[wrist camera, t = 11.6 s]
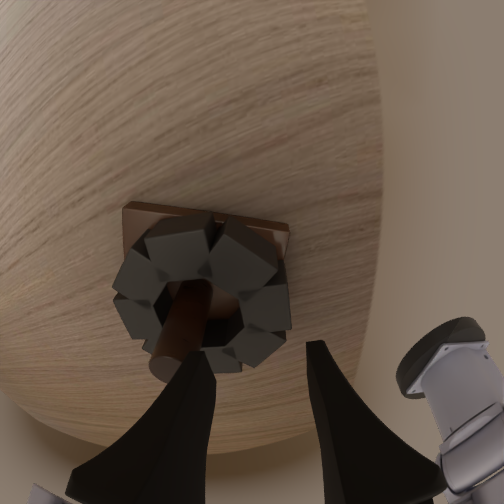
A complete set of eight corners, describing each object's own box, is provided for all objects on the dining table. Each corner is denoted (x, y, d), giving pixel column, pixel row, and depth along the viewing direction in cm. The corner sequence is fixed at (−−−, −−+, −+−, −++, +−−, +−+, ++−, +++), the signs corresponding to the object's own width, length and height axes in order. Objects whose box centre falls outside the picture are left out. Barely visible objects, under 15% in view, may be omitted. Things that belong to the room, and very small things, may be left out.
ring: (160, 348, 18) (151, 373, 16) (110, 229, 14) (89, 247, 12) (291, 340, 17) (295, 367, 15) (276, 201, 13) (280, 218, 11)
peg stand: (288, 223, 15) (309, 306, 9) (259, 341, 19) (258, 431, 13) (130, 201, 15) (55, 261, 8) (137, 320, 19) (100, 398, 12)
